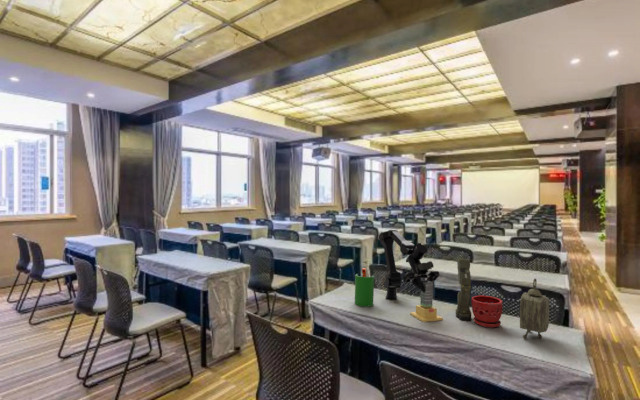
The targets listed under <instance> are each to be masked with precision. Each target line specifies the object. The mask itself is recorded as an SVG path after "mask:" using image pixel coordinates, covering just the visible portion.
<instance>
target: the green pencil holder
mask: <svg viewBox="0 0 640 400" xmlns="http://www.w3.org/2000/svg"><path fill="white" fill-rule="evenodd" d="M361 274H362V276H359V273H356V274H355V275H354V276H355V278H354V279H355V280H354V285H355V286H354V304H355V305H356V306H359V307H371V306H372V307H373V306H374V297H375V296H374V294H375V293H374V292H375V290H374V289H375V285H374V284H375V275H374V274H373V275H371V276H367V268H365V267H362V269H361Z"/></svg>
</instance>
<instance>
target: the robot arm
mask: <svg viewBox="0 0 640 400" xmlns="http://www.w3.org/2000/svg"><path fill="white" fill-rule="evenodd" d="M378 240H379V242H380V244H381V246H382V247H383V250H384V257H385V263H386V268H387V272H386V275H385V280H384V281H383V288H385V289H386V295H385V299H386V300H395V301H397V300H398V296H397V295H398V294H397V292H398V291H397V289H401V285H402V280H403V283H405V284H408V283H411V284H412V285H414V286H415V287H416V288H417V289H419V290H420V292H421V291H423V292H425V289H424V287H423V284H422V282H421V281H422V279H425V280H424V281H426V280H428V281H431V282H436V280H438V278H439V277H440V276H441V274H440V272H439V271H438V270H432V268H434V263H433V262H432V261H431V260H430V261H427V262H422V261H421V260H422V259H423V258H424V257H425V255H426V254H427V253H428V248H427V246H426V245H424V244H422V243H421V242H417V243H416V244H414V243H412V242H410V241H408V240H407V239H405V238H404V236H403V235H401V234H400V232H399V231H398V229H389V230H386V231H382V232H380V234H378ZM394 242H395V244H397V245H398V247H399V251H400V253H401V254H402V255H404V256H406V260H405V263H408V264H409V267H410V271H408V272H406V273H405V274H404V276H403V277H402V275H401V272H400V271H398V270H397V268H396V261H395V256H394V250H393V244H394ZM429 270H432V271H430V272H429ZM428 272H429V273H428Z"/></svg>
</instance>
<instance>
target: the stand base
mask: <svg viewBox="0 0 640 400" xmlns="http://www.w3.org/2000/svg"><path fill="white" fill-rule="evenodd" d="M437 312H438V308H436V307H435V306H432V307H424V306H422V305H420V304H417V305H415V311H412V312H411V311H410V312H409V315H410V316H412V317H413V318H415V319H417V320H419V321H421V322H423V323H429V322H436V321H443V317H442V316H440V315H438V313H437Z"/></svg>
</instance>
